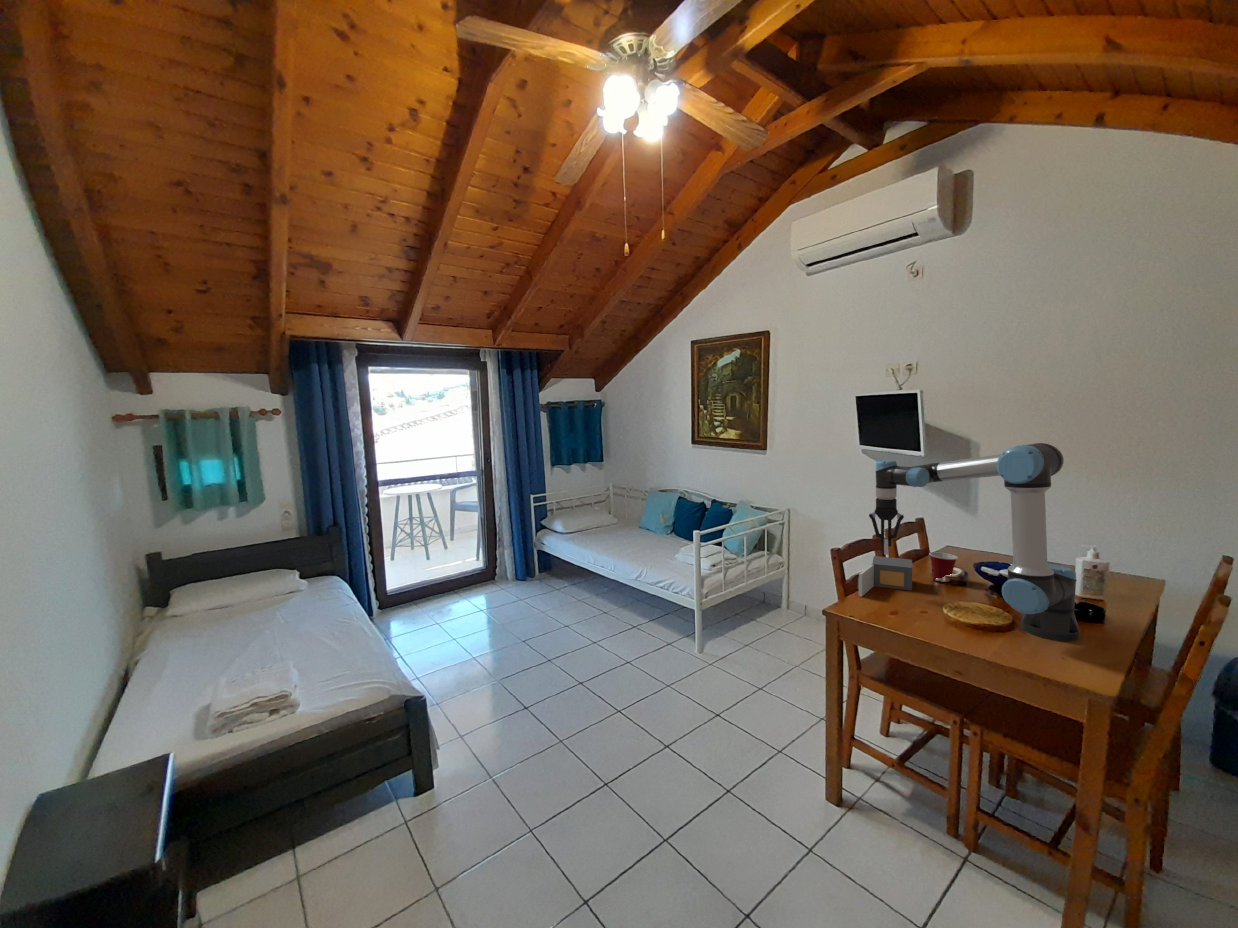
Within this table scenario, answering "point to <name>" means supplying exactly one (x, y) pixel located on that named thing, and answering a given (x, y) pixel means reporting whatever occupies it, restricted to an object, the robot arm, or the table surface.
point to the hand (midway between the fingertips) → (886, 553)
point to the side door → (866, 580)
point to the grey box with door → (893, 573)
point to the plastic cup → (942, 564)
